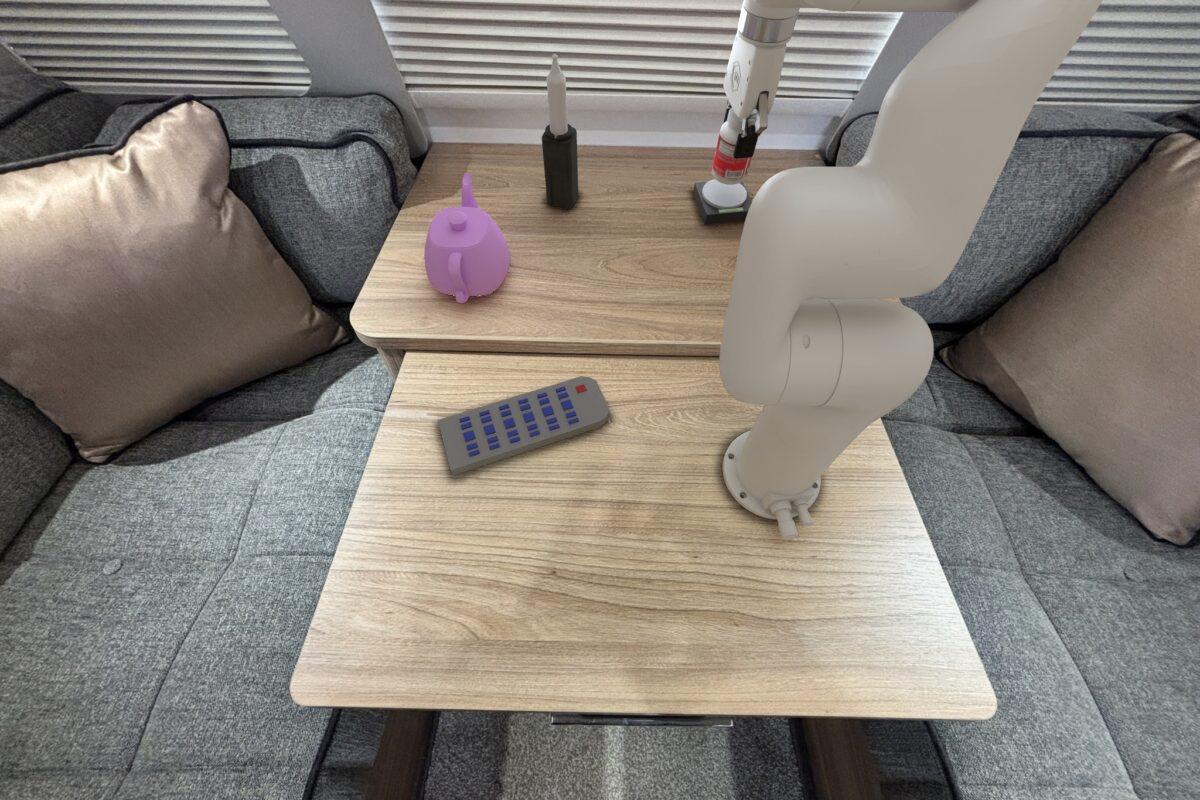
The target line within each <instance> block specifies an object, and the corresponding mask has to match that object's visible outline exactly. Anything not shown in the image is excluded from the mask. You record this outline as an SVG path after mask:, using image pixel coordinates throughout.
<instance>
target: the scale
mask: <svg viewBox="0 0 1200 800" xmlns="http://www.w3.org/2000/svg"><path fill="white" fill-rule="evenodd" d="M692 194H693V197H694V200H695V203H696V206H697V208H698V210H699V213H700V216H701V219H702V222H703V224H704V226H707V225H719V224H727V223H728V224H729V223H740V222H745V220H746V217H747V214H748V210H749V208H750V206H751V203H752V201H753V200H752V199H751V197H750V194H749V192H748V190H747V188H746V185H745V184H744V181H742V182H741V183H738V184H734V185H727V184H723V183H720V182H719V181H717V180H716V179H715V178H713V179H711V180H709V181H698V182H694V184H693V190H692Z"/></svg>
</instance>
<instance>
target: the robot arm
mask: <svg viewBox="0 0 1200 800" xmlns="http://www.w3.org/2000/svg"><path fill="white" fill-rule="evenodd" d="M1103 1H1104V0H743V2H742V6H741V10H740V16H739V21H738V25H737V28H736V29H737V30H736V34H735V37H734V41H733V44H732V47H731V51H730V55H729V58H728V63H727V67H726V71H725V74H724V79H723V85H722V86H723V91H724V93H725V96H726V98H727V101H726V107H727V108H726V109H725V113H724V118H723V124H724V123H725V122H726V121H727V118H728V113H729V110H730V109H731V108H733V110H734V112H735V114H736V115H737V117H738V118H740V119H743V121H742V131H741V134H738V138H737V142H736V146H735V150H734V154H733V156H734V158H735V159H738V158H750V157H752V158H753V157H754V154H755V150H756V148H757V147H756V146H757V143H758V140H759V137H761V135H762V134H763V132H764V131H766V130H767V129H768V127H769V119H768V118H769V114H770V113H771V112H772V109H773V106H774V104H775V103H774V102H775V99H776V96H777V92H778V89H779V85H780V84H779V83H780V80H781V76H782V71H783V66H784V62H785V57H786V50H787V44H789V42H790V41H791V40H792V37H793V35H794V34H793V33H794V30H795V26H796V24H797V20H798V16H799V13H800V10H801V9H819V10H825V11H830V12H841V13H845V12H865V13H866V12H869V13H871V12H873V13H953V14H957V15H958V16H957V17H956V18H955V19H953V20H952V21H950V22H949V23H948V24H947V25H946V26H945V27H943V28H942V29H941V30H940V31H939V32H938V33H936V35H934V36H933V37H932V38H931V39H930V40H929V41H928V42H927V43H926V44H925V45H924V46H923V47H922V48H921V49H920V50H919V51H918V52H917V53H916V54H915V55H914V57H913V58H912V59H911V60H910V61H909V62H908V64H907V65H906V66H905V67H904V68H903V69H902V70H901V72H900V73H899V74H898V75H897V77H896V78H895V79H894V81H892V83H891V85H890V86H889V88H888V89H887V91H886V93H885V95H884V98H883V100H882V102H881V104H880V108H879V111H878V113H877V114H878V115H877V117H876V120H875V124H874V128H873V131H872V135H871V137H870V139H869V140H870V141H869V143H868V146H867V147H866V150H865V153H864V154H863V157H862V158H861V159H860V160H859V162H857V163H856V164H855V165H853V166H799V167H793V168H788V169H785V170H782V171H779V172H777V173H776V174H774V175H773V176H771V177H769V178H768V179H767V180H766V181H765V182H764V183H763V184H762V185H761V187H760V188H759V189H758V191H757V192H756V194H755V196H754V197H753V199H752V200H751V201H752V203H751V206H750V208H749V210H748V214H747V217H746V220H745V221H744V224H743V229H742V233H741V235H740V236H741V237H740V241H739V245H738V251H737V256H736V262H735V266H734V270H733V276H732V282H731V287H730V291H729V298H728V302H727V307H726V311H725V312H726V313H725V318H724V323H723V328H722V333H721V339H720V340H721V341H720V346H719V356H718V357H719V358H718V359H719V360H718V364H719V366H718V368H719V377H720V380H721V383H722V386H723V387H724V390H725V392H726V393H727V394H728V395H729V396H730V397H731V398H733V399H734V400H736V401H738V402H740V403H742V404H743V403H744V404H747V405H755V406H763V408H762V409H761V411H760V412H759V414H758V417H757V419H756V420H755V422H754V424H753V426H752V428H751V430H748V431H745V432H743V433H741V434H740V435H738V436H736V438H734V439H733V441H732V442H731V443H730V444H729V445H728V447H727V448H726V451H725V453H724V456H723V460H722V477H723V480H724V483H725V486H726V488H727V490H728V492H729V493H730V495H731V496H732V497H733V498H734V500H735V501H736V502H737V503H738V504H739V505H740V506H742V508H744V509H745V510H747V511H749V512H750V513H752V514H754V515H756V516H758V517H762V518H764V519H770V520H777V526H778V529H779V532H780V535H781V538H782V540H785V541H786V540H793V539H795V538H797V537H799V535H800V534H799V532H798V528H797V525H796V523H795V520H793V518H795V517H798V520H799V522H800V526H801V527H808V526H812V525H813V524H814V522H813V519H812V516H811V513H810V512H809V508H810V507H812V506H813V504H814V503H815V501H816V500H817V498H818V496H819V494H820V491H821V486H822V476H823V474H824V473H825V472H826V471H827V470H828V468H829V467H831V465H832V464H833V463H834V462H835V461H836V459H838V457H839V456H840V455H841V454H842V453H843V452H844V451H845V450H846V449H847V448H848V447H849V446H850V445H851V444H852V443H853V442H854V441H855V440H856V438H857V437H858V436H859V435H860V434H861V433H863V432H864V431H865V429H866V428H868V427H869V426H871V424H873V423H874V422H876V421H878V420H879V419H881V418H882V417H885V416H886V415H888V414H889V413H890V412H892V411H894V410H895V409H897V408H898V407H900V406H901V405H902V404H903V403H905V402H906V401H907V400H908V399H910V398H911V397H912V396H913V395H914V394H915V393H916V392H917V390H919V388H920V387H921V386H922V384H923V383H924V381H925V379H926V378H927V376H928V374H929V371H930V369H931V366H932V364H933V363H932V362H933V359H934V350H935V349H934V337H933V334H932V331H931V328H930V327H929V325H928V323H927V322H926V321H925V319H924V317H922V315H920V314H919V313H918V312H917V311H916V310H914V309H912V308H911V307H908V306H906V305H905V304H902V303H899V302H895V301H891V300H887V299H906V298H915V297H919V296H923V295H926V294H929V293H931V292H933V291H935V290H937V288H939V287H940V286H941V285H942V284H943V283H944V282H945V281H946V280H947V278H948V277H949V276H950V274H951V273H952V272H953V270H954V268H955V267H956V265H957V263H958V261H959V260H960V258H961V256H962V255H963V252H964V250H965V249H966V247H967V245H968V243H969V240H970V238H971V236H972V234H973V232H974V230H975V229H976V227H977V224H978V222H979V220H980V217H981V215H982V214H983V211H984V209H985V207H986V205H987V204H988V201H989V199H990V197H991V195H992V193H993V191H994V189H995V188H996V187H995V186H996V184H997V183H998V181H999V178H1000V176H1001V174H1002V172H1003V170H1004V168H1005V166H1006V165H1007V162H1008V160H1009V157H1010V155H1011V154H1012V152H1013V149H1014V147H1015V145H1016V142H1017V140H1018V138H1019V136H1020V133H1021V131H1022V129H1023V127H1024V125H1025V123H1026V122H1027V119H1028V117H1029V115H1030V113H1031V111H1032V109H1033V108H1034V106H1035V104H1036V102H1037V101H1038V99H1039V97H1040V96H1041V94H1042V93H1043V91H1044V90H1045V88H1046V87H1047V85H1048V84H1049V82H1050V80H1051V79H1052V77H1053V76H1054V74H1055V73H1056V71H1057V70H1058V69H1059V67H1060V66H1061V64H1062V63H1063V62H1064V60H1065V58H1066V57H1067V56H1068V55H1069V53H1070V51H1071V50H1072V48H1073V47H1074V46H1075V44H1076V43H1077V41H1078V40H1079V38H1080V37H1081V36H1082V34H1083V32H1084V31H1085V30H1086V28H1087V27H1088V25H1089V24H1090V21H1091V20H1092V19H1093V17H1094V15H1095V14H1096V13H1097V10H1098V9H1099V7H1100V6H1101V5H1102V2H1103ZM754 109H755V110H756V113H752V111H753V110H754ZM755 118H756V123H755V124H754V125H751V126H749V127H748V121H749V119H755ZM723 124H722V125H723ZM885 299H886V300H885Z"/></svg>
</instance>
